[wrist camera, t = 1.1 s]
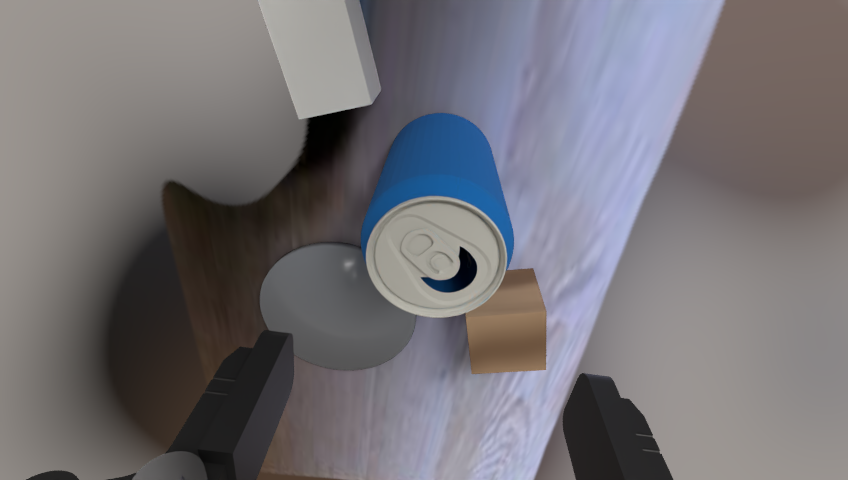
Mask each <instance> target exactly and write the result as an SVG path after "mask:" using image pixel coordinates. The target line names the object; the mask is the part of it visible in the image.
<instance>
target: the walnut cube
mask: <svg viewBox="0 0 848 480" xmlns="http://www.w3.org/2000/svg"><path fill="white" fill-rule="evenodd" d="M466 324H467V333H468V343H469V352H470V361H471V371H472V374H481V373H499V372H517V371H535V370H546V309H545V306H544V302H543V299H542V296H541V293H540V289H539V286H538V283H537V280H536V276H535V273H534V270H533V268H531V269H518V270H506V272H505V275H504V278H503V280H502V282H501V284H500V286H499V288H498V289H497V290H496V292H495V293H494V294H493V295H492V296H491V297H490V298H489V299H488V300H487V301H486V302H485V303H483V304H482V305H481V306H479V307H477V308H476V309H474V310H472V311H469V312H467V313H466Z"/></svg>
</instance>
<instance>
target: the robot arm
mask: <svg viewBox="0 0 848 480" xmlns="http://www.w3.org/2000/svg"><path fill="white" fill-rule="evenodd" d="M293 379H294V351H293V335H292V334H291V333H284V332H276V331H269V330H264V331H263V332H262V333H261V335H260V336H259V338H258V340H257V342H256V344H255V345H254V347H253V348H246V347H239V348H238V349H237V350H236V351H234V352H233V353H232V354H231V355H229V356H228V357H227V358H226V359H224V360H223V362H222V364H221V365H220V367H219V369H218V370H217V372H216V373H215V375H214V378H213V380H211V382H210V383H209V385H208V387H207V388H206V390H205V393H204V394H203V395H202V396H201V398H200V400H199V402H198V403H197V404H196V406H195V408H194V409H193V411H192V413H191V414H190V416H189V418H188V419H187V421H186V422H185V424H184V426H183V427H182V429H181V431H180V432H179V434H178V435H177V437H176V439H175V440H174V442H173V444H172V445H171V447H170V448H169V450H168V451H167V452H166V453H165V454H163V455H161V456H159V457H156V458H155V459H153V460H151V461H150V462H148V463H147V464H146V465H144V466H143V467H142V468H141V469H140V470H139V471H138V472H137V473H134V474H131V475H128V476H125V477H119V478H114V479H108V480H256V479H257V476H258V474H259V471H260V469H261V466H262V464H263V461H264V459H265V456H266V454H267V451H268V449H269V446H270V443H271V441H272V438H273V436H274V433H275V431H276V428H277V426H278V423H279V421H280V418H281V416H282V413H283V411H284V408H285V406H286V403H287V400H288V398H289V395H290V392H291V389H292V384H293ZM563 431H564V435H565V439H566V443H567V446H568V450H569V454H570V458H571V462H572V466H573V469H574V473H575V477H576V480H673V478H672V476H671V474H670V471H669V469H668V467H667V465H666V463H665V460H664V458H663V456H662V454H660V452H659V451H660V450H659V447H658V445H657V443H656V441H655V439H654V438H653V437H652V435H653V434H652V432H651V430H650V428H649V426H648V424H647V421H646V419H645V417H644V416H643V414H642V413H641V412H640V411H639V410H638V409H637V408H636V407H635V405H634V404H633V403H632V402H631V401H630V400H629V399H624V398H621V397H620V395H619V393H618V390H617V388H616V386H615V383H614V381H613V380H612V378H611V377H607V376H599V375H592V374H584V373H582V374H580V375H579V377H578V379H577V381H576V384H575V386H574V388H573V391H572V393H571V395H570V398H569V400H568V402H567V404H566V407H565V409H564V413H563ZM26 480H79V479H78V478H77V476H75V475H74V474H73V473H70V472H67V471H49V472H45V473H41V474H38V475H35V476H33V477H31V478H29V479H26Z"/></svg>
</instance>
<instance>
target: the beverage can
mask: <svg viewBox="0 0 848 480" xmlns="http://www.w3.org/2000/svg"><path fill="white" fill-rule="evenodd" d="M361 248H362V254H363V258H364V261H365V263H366V265H367V269H368V273H369V276H370V278H371V280H372V282H373V284H374V285H375V287H376V288H377V290H378V291H379V292H380V293H381V295H383V296H384V297H385V298H386V299H387V300H388V301H389V302H391V303H392V304H393V305H395V306H397V307H398V308H400V309H402V310H404V311H407V312H409V313H412V314H415V315H419V316H424V317H431V318H445V317H453V316H457V315H461V314H464V313H467V312H469V311H472V310H474V309H476V308H477V307H479V306H481V305H482V304H483V303H485V302H486V301H487V300H488V299H489V298H490V297H491V296H492V295H493V294H494V293H495V292H496V290H497V289H498V288H499V286H500V284H501V282H502V280H503V278H504V275H505V272H506V270H507V268H508V266H509V264H510V261H511V258H512V254H513V249H514V234H513V228H512V224H511V221H510V217H509V213H508V210H507V206H506V202H505V199H504V195H503V191H502V188H501V184H500V180H499V177H498V173H497V169H496V166H495V162H494V158H493V155H492V151H491V147H490V145H489V143H488V141H487V139H486V137H485V136H484V134H483V133H482V132H481V130H480V129H479V128H477V127H476V126H475V125H474V124H473V123H471V122H470V121H468V120H466V119H464V118H462V117H460V116H457V115H453V114H447V113H434V114H428V115H425V116H422V117H419V118H417V119H415V120H414V121H412V122H410V123H409V124H408V125H406V126H405V127H404V128H403V129H402V130H401V131H400V132H399V134H398V135H397V137H396V138H395V140H394V142H393V144H392V146H391V149H390V152H389V154H388V157H387V160H386V162H385V165H384V168H383V170H382V173H381V176H380V178H379V181H378V184H377V186H376V189H375V192H374V194H373V197H372V200H371V202H370V205H369V208H368V211H367V213H366V216H365V219H364V222H363V225H362V230H361Z"/></svg>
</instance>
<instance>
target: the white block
mask: <svg viewBox="0 0 848 480" xmlns="http://www.w3.org/2000/svg"><path fill="white" fill-rule="evenodd" d="M257 1H258V3H259V6H260V9H261V12H262V15H263V18H264V20H265V24H266V26H267V30H268V32H269V35H270V38H271V41H272V44H273V47H274V50H275V52H276V55H277V58H278V61H279V64H280V67H281V70H282V72H283V75H284V79H285V81H286V84H287V87H288V90H289V93H290V96H291V99H292V102H293V104H294V107H295V110H296V113H297V116H298V119H299V120H300V119H305V118H310V117H314V116H319V115H324V114H329V113H333V112H338V111H343V110H348V109H353V108H357V107H362V106H367V105H372V103H373V102H374V100H375V99H376V97H377V96H378V94H379V93H380V91H381V86H380V82H379V78H378V74H377V70H376V66H375V62H374V58H373V54H372V49H371V45H370V41H369V37H368V33H367V29H366V25H365V21H364V17H363V13H362V9H361V5H360V1H359V0H257Z"/></svg>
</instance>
